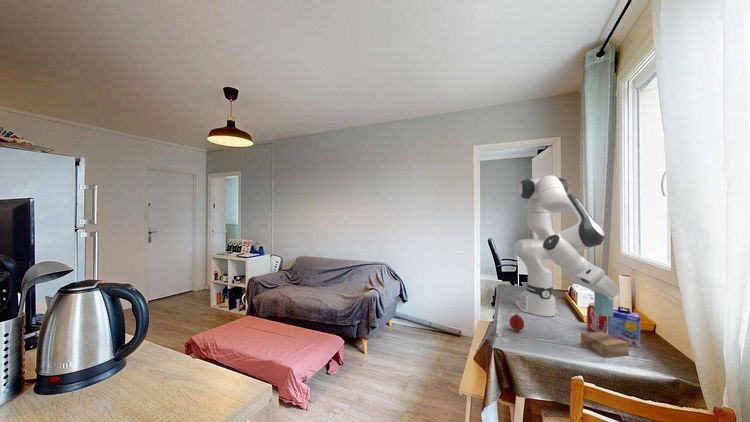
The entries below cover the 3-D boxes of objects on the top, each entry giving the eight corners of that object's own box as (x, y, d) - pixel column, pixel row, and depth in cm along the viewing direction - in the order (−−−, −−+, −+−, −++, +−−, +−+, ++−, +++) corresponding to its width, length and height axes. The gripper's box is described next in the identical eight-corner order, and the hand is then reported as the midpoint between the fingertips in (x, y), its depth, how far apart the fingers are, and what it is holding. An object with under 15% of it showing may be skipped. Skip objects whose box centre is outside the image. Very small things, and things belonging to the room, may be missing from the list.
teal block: (594, 312, 108) (594, 286, 108) (604, 312, 108) (605, 287, 108) (602, 315, 104) (602, 289, 104) (613, 316, 104) (613, 289, 104)
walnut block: (580, 345, 110) (581, 333, 110) (601, 343, 111) (601, 331, 111) (606, 358, 100) (606, 345, 100) (628, 356, 102) (628, 343, 102)
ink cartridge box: (607, 339, 115) (607, 305, 115) (608, 335, 118) (608, 302, 119) (640, 348, 107) (640, 311, 108) (640, 343, 111) (640, 308, 111)
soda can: (611, 336, 118) (611, 308, 118) (592, 334, 119) (592, 307, 119) (601, 329, 125) (601, 303, 125) (583, 328, 126) (583, 301, 126)
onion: (523, 330, 123) (523, 312, 123) (524, 335, 118) (524, 316, 118) (509, 327, 126) (509, 310, 126) (509, 332, 120) (509, 314, 120)
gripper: (557, 270, 117) (580, 294, 116) (592, 282, 96) (621, 311, 96) (567, 260, 117) (591, 283, 116) (606, 270, 96) (635, 298, 96)
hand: (605, 296), depth 106 cm, fingers closed on teal block, 4 cm apart
